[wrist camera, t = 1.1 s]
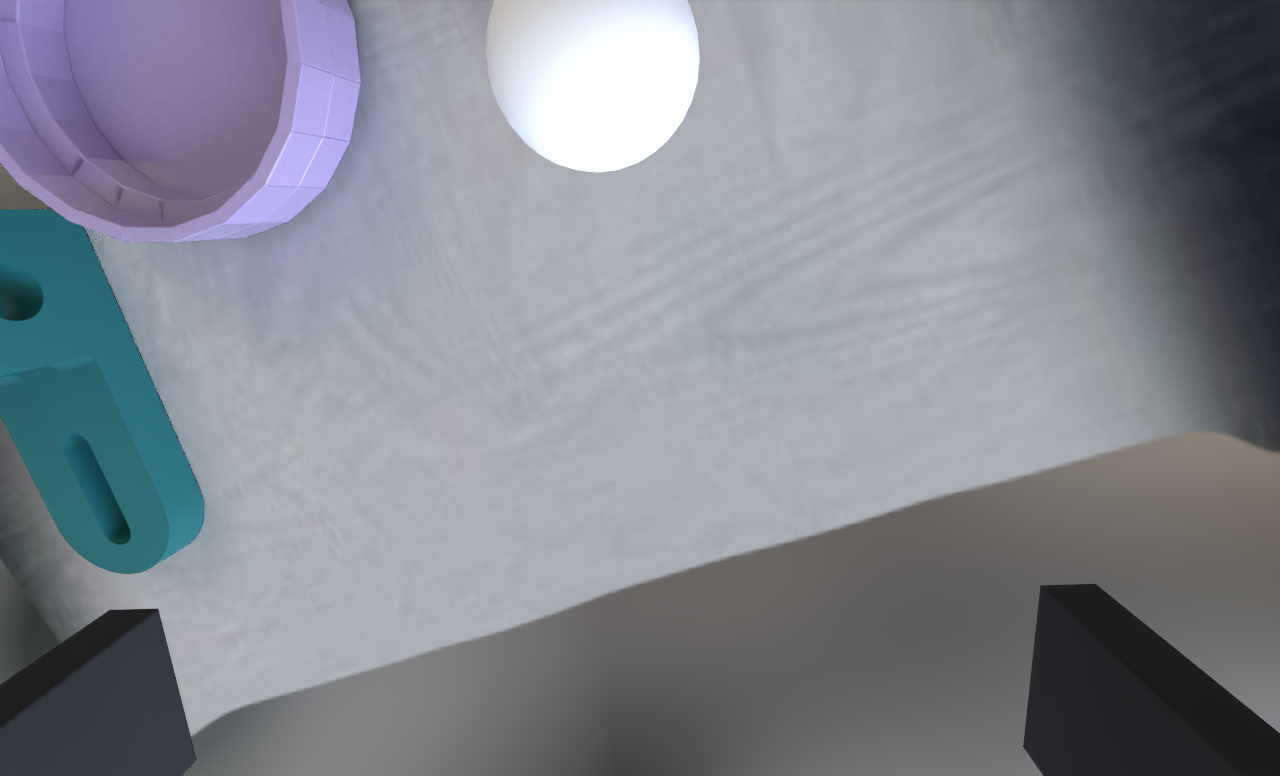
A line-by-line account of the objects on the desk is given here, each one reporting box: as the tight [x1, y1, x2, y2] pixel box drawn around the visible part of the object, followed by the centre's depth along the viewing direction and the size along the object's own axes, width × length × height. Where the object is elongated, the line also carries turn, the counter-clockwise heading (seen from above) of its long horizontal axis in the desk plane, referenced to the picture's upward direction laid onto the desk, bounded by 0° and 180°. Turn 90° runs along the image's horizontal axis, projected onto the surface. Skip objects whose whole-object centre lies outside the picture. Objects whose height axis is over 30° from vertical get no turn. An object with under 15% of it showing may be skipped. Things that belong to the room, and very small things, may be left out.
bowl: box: [0, 0, 361, 242], centre depth 26 cm, size 15×15×4 cm
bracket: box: [0, 210, 204, 574], centre depth 30 cm, size 18×7×8 cm, turn 14°
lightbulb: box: [486, 0, 700, 172], centre depth 21 cm, size 6×6×11 cm
